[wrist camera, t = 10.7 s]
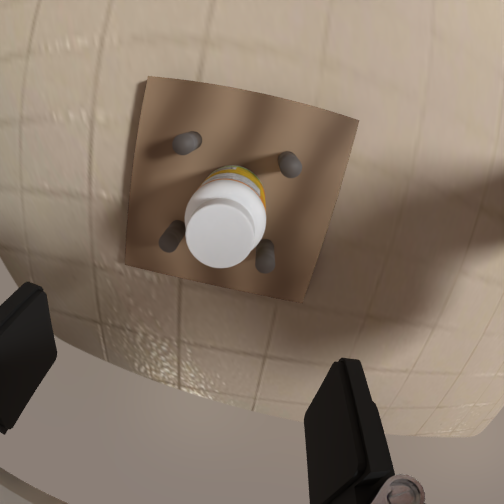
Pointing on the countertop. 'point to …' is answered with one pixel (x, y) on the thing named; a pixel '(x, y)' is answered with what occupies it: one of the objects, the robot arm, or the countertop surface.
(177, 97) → the peg cradle
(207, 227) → the supplement bottle
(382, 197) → the countertop surface
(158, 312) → the countertop surface
